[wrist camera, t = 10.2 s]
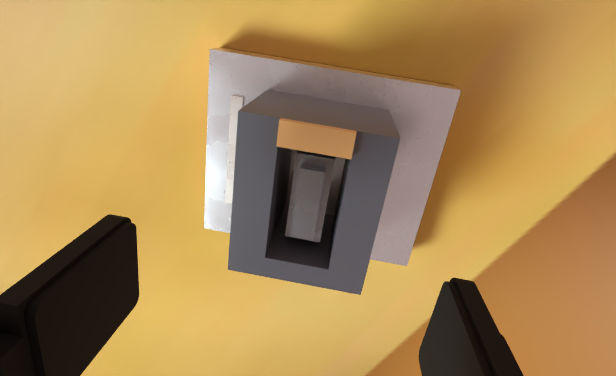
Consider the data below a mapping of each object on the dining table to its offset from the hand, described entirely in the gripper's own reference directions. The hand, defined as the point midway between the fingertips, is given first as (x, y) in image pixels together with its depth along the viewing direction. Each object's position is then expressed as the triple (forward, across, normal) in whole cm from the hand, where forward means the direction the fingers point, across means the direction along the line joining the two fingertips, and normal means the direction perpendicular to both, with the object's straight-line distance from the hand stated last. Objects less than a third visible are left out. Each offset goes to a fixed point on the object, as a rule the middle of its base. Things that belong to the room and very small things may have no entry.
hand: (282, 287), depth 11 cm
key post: (+11, 0, -1) cm, 11 cm away
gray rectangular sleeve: (+9, 0, 0) cm, 9 cm away
